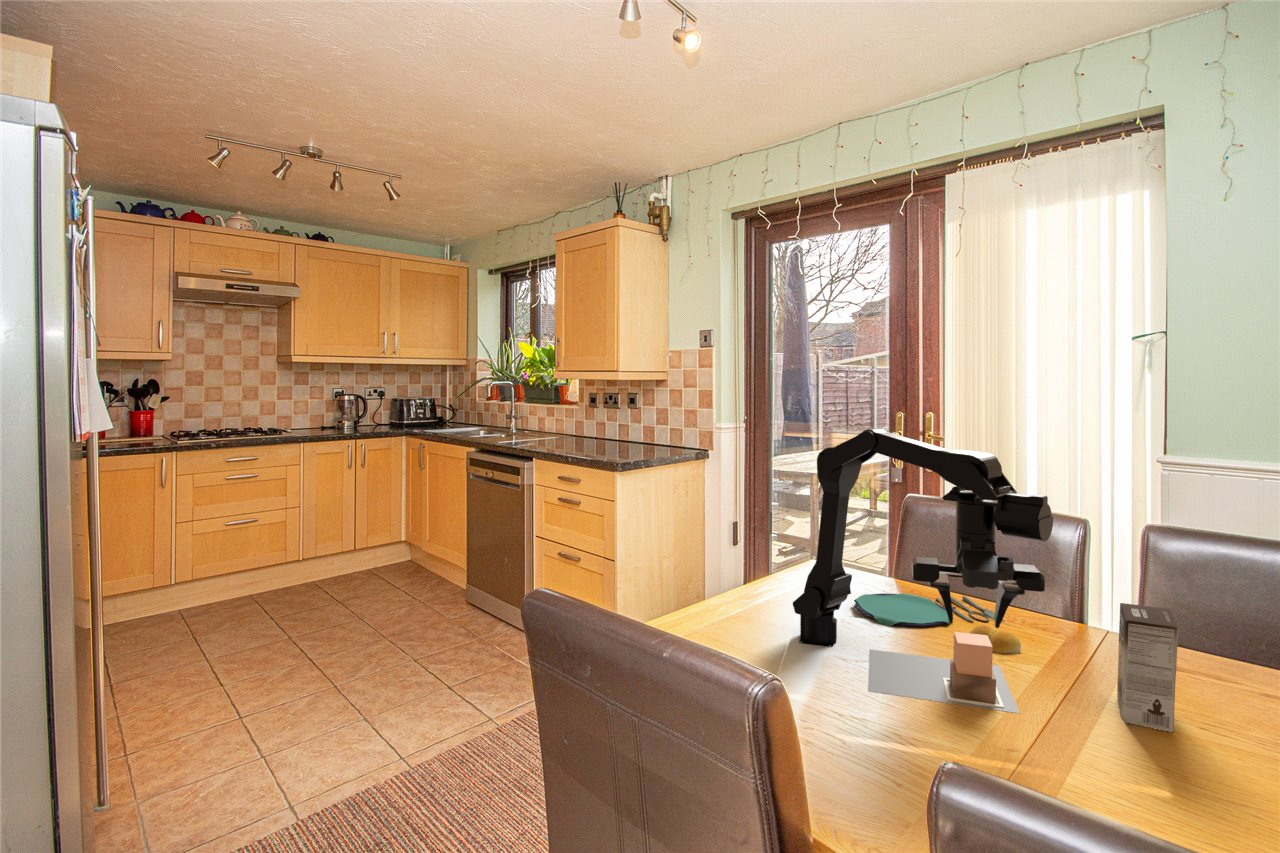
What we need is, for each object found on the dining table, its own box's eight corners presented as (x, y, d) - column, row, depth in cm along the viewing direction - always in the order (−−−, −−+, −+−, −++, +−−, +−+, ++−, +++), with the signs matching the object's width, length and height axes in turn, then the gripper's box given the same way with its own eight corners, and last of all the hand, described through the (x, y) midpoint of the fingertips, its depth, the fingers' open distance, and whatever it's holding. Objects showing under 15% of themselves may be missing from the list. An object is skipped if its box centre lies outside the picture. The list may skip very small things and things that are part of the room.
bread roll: (1012, 661, 119) (1012, 640, 119) (962, 646, 126) (962, 626, 126) (1028, 648, 125) (1028, 628, 124) (979, 635, 131) (979, 616, 131)
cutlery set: (841, 601, 153) (841, 592, 153) (962, 599, 155) (963, 590, 155) (877, 634, 133) (878, 623, 133) (1016, 631, 135) (1016, 621, 135)
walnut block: (953, 698, 103) (954, 673, 103) (949, 682, 109) (950, 659, 109) (995, 704, 101) (996, 679, 101) (989, 687, 107) (990, 664, 107)
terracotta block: (957, 673, 104) (957, 642, 103) (953, 660, 108) (953, 631, 108) (992, 677, 102) (992, 646, 102) (986, 664, 107) (987, 635, 106)
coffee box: (1115, 697, 104) (1118, 601, 103) (1165, 707, 101) (1169, 608, 100) (1121, 723, 97) (1125, 618, 96) (1176, 734, 93) (1180, 626, 92)
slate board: (868, 694, 106) (868, 689, 106) (869, 652, 123) (869, 648, 123) (1019, 717, 98) (1019, 712, 98) (999, 668, 115) (999, 664, 115)
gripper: (915, 537, 99) (913, 635, 100) (1055, 546, 93) (1052, 651, 94) (912, 523, 110) (910, 612, 111) (1037, 530, 103) (1035, 625, 104)
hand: (973, 624), depth 105 cm, fingers open, 6 cm apart
